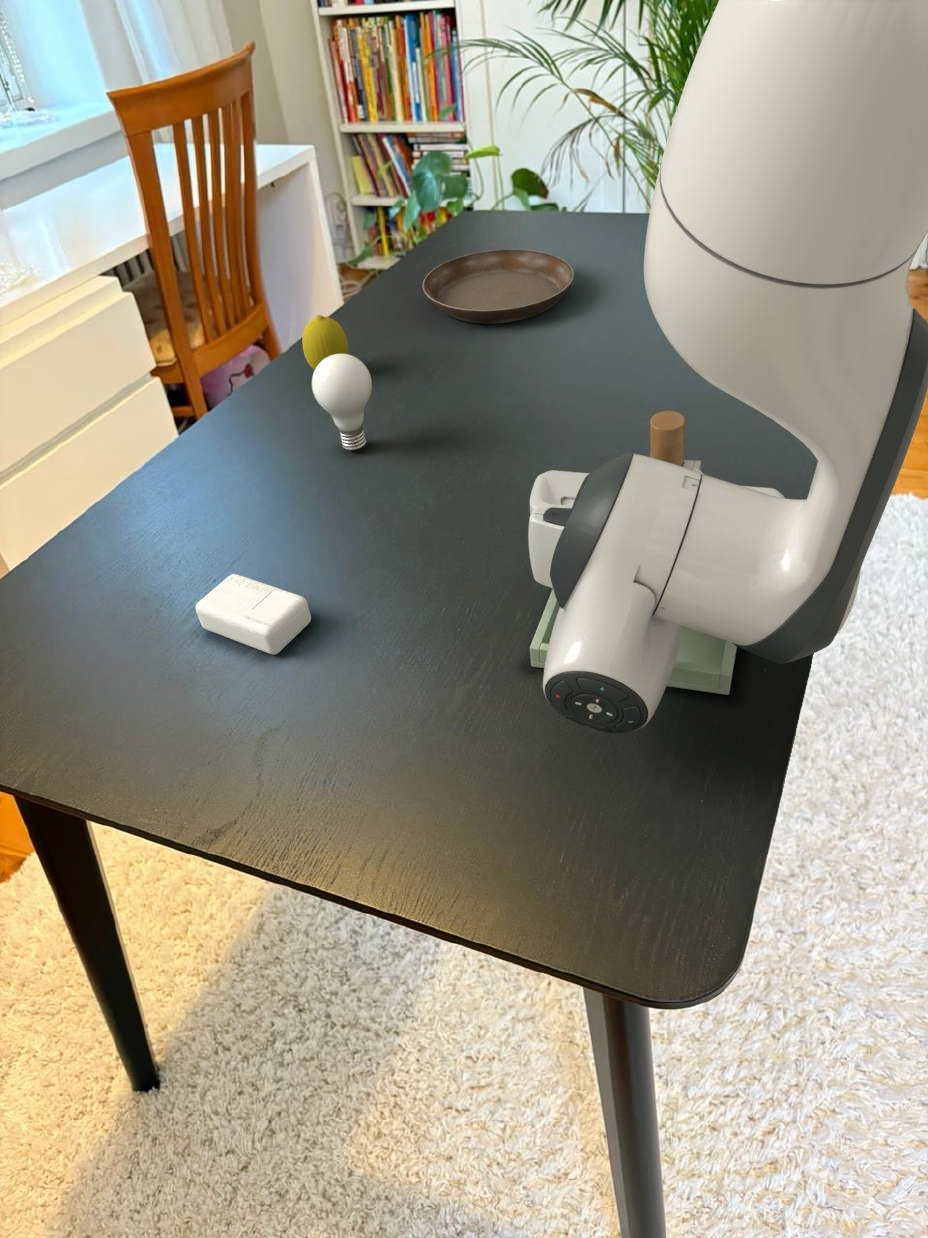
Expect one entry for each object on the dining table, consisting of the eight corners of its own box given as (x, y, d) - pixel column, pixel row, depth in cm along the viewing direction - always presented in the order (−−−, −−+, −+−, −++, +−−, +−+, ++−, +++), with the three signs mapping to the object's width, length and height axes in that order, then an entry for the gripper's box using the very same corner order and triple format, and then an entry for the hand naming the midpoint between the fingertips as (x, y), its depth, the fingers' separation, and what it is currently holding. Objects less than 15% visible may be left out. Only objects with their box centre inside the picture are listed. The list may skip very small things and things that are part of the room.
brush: (702, 523, 89) (708, 408, 80) (695, 552, 87) (701, 437, 78) (636, 517, 91) (635, 403, 82) (628, 545, 89) (626, 431, 80)
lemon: (361, 368, 123) (349, 307, 118) (339, 389, 119) (326, 327, 114) (324, 364, 125) (311, 304, 120) (301, 384, 121) (287, 323, 116)
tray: (758, 517, 91) (760, 498, 89) (728, 695, 74) (730, 675, 73) (593, 502, 95) (592, 484, 94) (530, 666, 79) (529, 647, 77)
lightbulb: (361, 468, 105) (342, 375, 98) (315, 457, 108) (293, 365, 100) (394, 440, 109) (378, 348, 101) (349, 429, 111) (330, 339, 104)
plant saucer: (600, 279, 136) (600, 256, 134) (528, 342, 124) (526, 317, 121) (475, 263, 146) (473, 241, 143) (396, 320, 133) (392, 296, 131)
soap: (199, 630, 87) (189, 604, 85) (240, 594, 90) (231, 569, 88) (276, 659, 83) (267, 633, 81) (315, 621, 86) (308, 594, 84)
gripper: (784, 542, 69) (797, 441, 79) (509, 515, 75) (552, 425, 85) (775, 609, 73) (789, 506, 83) (515, 578, 80) (556, 485, 89)
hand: (667, 464), depth 84 cm, fingers closed on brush, 3 cm apart
